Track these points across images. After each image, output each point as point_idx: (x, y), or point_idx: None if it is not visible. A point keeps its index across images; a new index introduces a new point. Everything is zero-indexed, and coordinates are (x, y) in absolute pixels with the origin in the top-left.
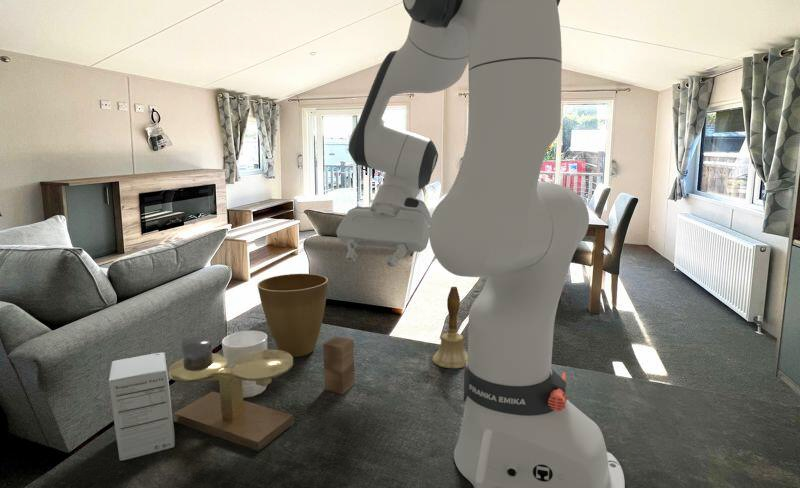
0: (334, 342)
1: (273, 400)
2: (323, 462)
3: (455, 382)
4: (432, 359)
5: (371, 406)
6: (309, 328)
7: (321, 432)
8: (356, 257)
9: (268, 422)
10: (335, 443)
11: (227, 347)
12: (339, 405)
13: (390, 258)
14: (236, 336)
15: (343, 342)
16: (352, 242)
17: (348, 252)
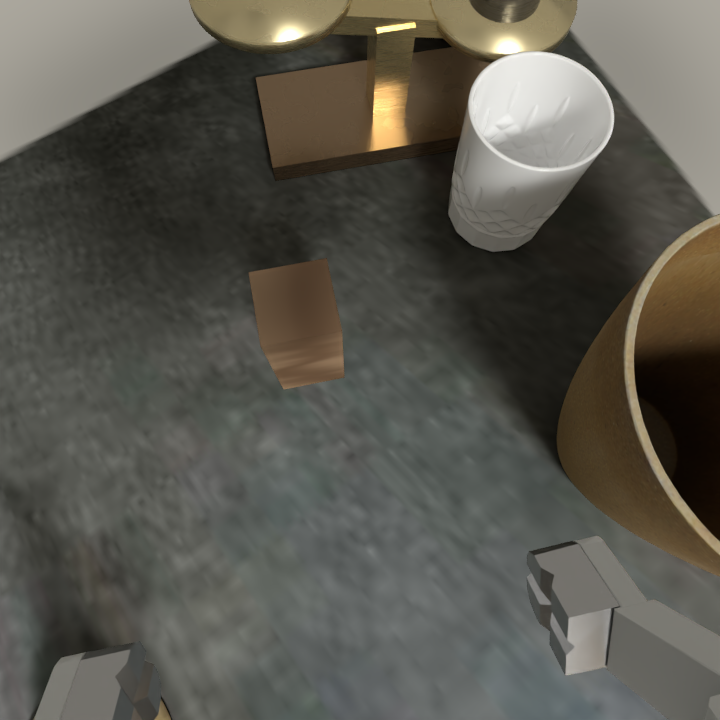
0: (300, 288)
1: (395, 213)
2: (130, 136)
3: (18, 596)
4: (163, 704)
5: (169, 331)
6: (565, 410)
7: (200, 193)
8: (552, 644)
9: (295, 123)
10: (148, 185)
11: (522, 55)
12: (242, 288)
13: (85, 685)
14: (603, 127)
15: (273, 307)
16: (713, 706)
17: (615, 573)
